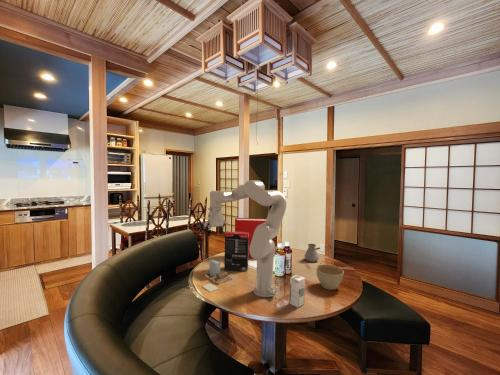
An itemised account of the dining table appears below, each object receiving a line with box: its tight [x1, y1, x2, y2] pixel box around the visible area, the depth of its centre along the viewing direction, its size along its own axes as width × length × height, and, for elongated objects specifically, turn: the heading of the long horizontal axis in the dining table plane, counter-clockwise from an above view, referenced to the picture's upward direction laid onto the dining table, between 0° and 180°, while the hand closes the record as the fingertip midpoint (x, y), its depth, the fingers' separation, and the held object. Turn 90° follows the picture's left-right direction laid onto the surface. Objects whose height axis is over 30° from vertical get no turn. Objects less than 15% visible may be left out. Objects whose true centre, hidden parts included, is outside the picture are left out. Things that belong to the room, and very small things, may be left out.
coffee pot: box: [304, 243, 321, 263], centre depth 184 cm, size 21×12×15 cm, turn 8°
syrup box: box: [288, 274, 306, 308], centre depth 122 cm, size 6×6×14 cm
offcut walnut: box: [216, 270, 229, 279], centre depth 149 cm, size 4×6×2 cm, turn 139°
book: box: [234, 217, 267, 259], centre depth 194 cm, size 27×8×32 cm, turn 88°
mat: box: [201, 282, 219, 293], centre depth 139 cm, size 9×6×1 cm, turn 42°
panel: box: [208, 259, 221, 278], centre depth 155 cm, size 8×3×10 cm, turn 42°
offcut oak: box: [215, 275, 230, 282], centre depth 149 cm, size 4×8×2 cm, turn 133°
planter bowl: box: [315, 264, 345, 291], centre depth 143 cm, size 16×16×11 cm
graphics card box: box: [223, 230, 249, 272], centre depth 167 cm, size 17×7×27 cm, turn 85°
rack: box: [202, 270, 233, 285], centre depth 153 cm, size 18×11×2 cm, turn 42°
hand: (215, 234), depth 155 cm, fingers open, 9 cm apart
